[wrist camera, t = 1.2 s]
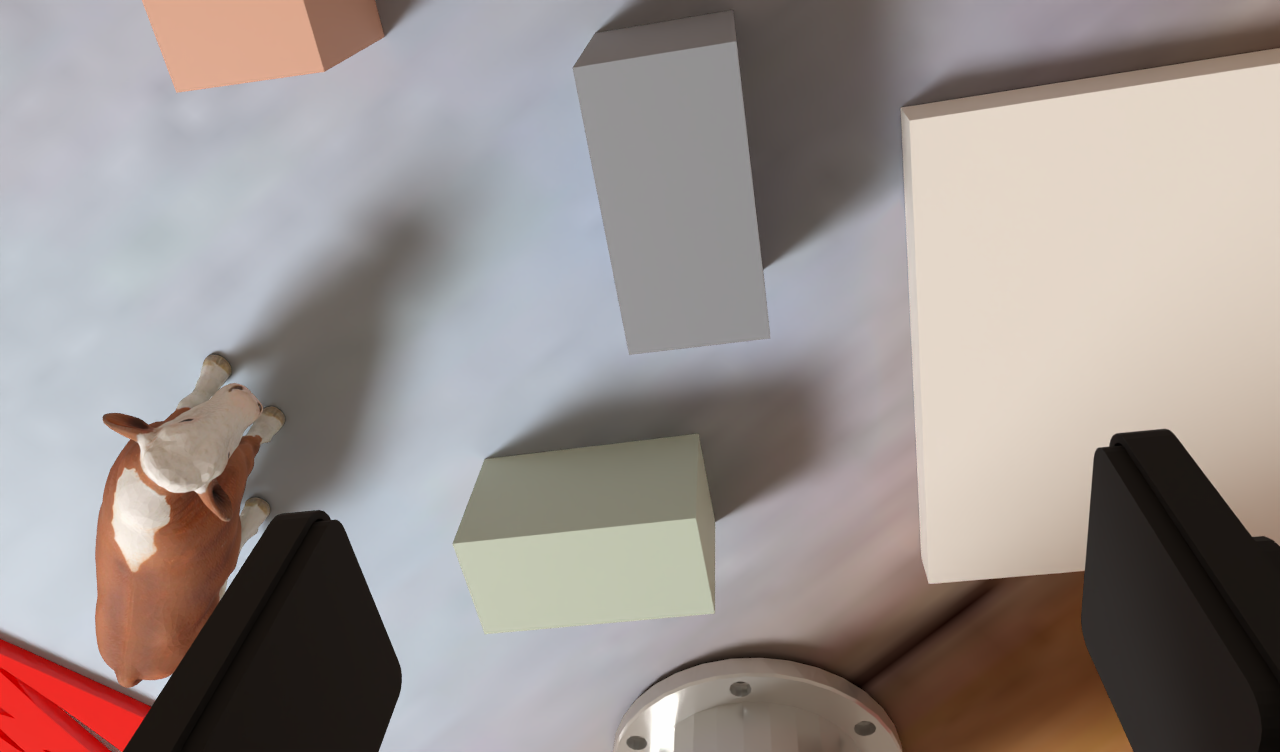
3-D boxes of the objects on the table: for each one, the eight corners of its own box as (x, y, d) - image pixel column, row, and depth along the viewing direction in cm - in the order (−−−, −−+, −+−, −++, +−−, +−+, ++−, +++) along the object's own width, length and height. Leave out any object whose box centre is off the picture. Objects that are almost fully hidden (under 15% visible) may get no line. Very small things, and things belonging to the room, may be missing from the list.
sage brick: (698, 431, 34) (695, 518, 30) (715, 520, 36) (714, 613, 31) (485, 457, 35) (452, 543, 31) (512, 541, 37) (485, 634, 33)
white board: (1418, 512, 33) (1447, 540, 32) (921, 557, 36) (929, 584, 34) (1553, 4, 25) (1599, 13, 24) (900, 107, 28) (909, 120, 26)
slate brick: (763, 268, 31) (770, 338, 26) (641, 283, 31) (629, 354, 27) (733, 8, 27) (736, 41, 22) (595, 32, 27) (572, 67, 23)
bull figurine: (348, 321, 33) (245, 453, 25) (253, 581, 39) (149, 746, 32) (225, 266, 32) (85, 387, 25) (149, 540, 38) (19, 699, 31)
